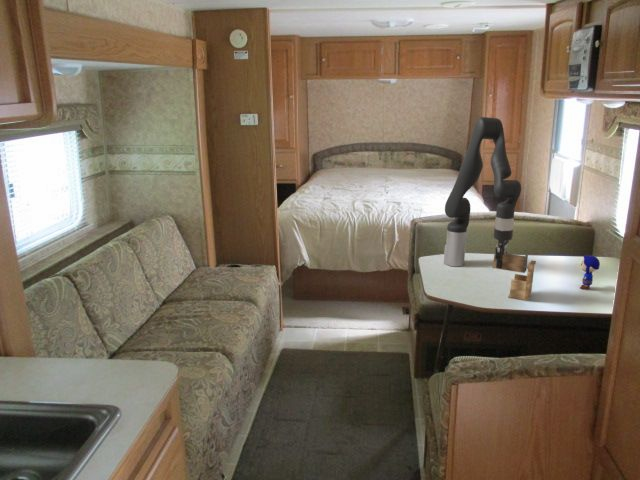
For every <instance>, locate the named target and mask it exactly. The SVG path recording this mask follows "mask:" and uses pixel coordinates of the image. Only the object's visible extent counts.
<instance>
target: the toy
mask: <svg viewBox="0 0 640 480" xmlns="http://www.w3.org/2000/svg"><path fill="white" fill-rule="evenodd" d="M600 266H601V263H600V260H599V258H598V257H597V256H596V255H587V254H585V255H583V260H582V262H581V264H580V269H581V270H582V271H583V272H585V273H584V274H583V277H582V280H581V281H582V284H581V285H580V286H579V289H581V290H585V291H589V289H590V288H591V285H592V284H593V272H596V271H597V270H599V269H600Z"/></svg>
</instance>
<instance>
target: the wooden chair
mask: <svg viewBox="0 0 640 480" xmlns="http://www.w3.org/2000/svg"><path fill="white" fill-rule="evenodd" d="M536 264H537V263H536V260H534V259H533V260H530V261H529V263H528V264H527V269H526V270H527V271H526V272H527V273H526V275H524V274H519V273H515V274H514V278H513V279H512V278H511V280H510V288H509V294H508V295H507V298H508V299H514V300H518V301H519V300H520V301H524V302H528V301H529V299H530V297H531V295H532V292H533V291H532V290H533V281H534V274H535V273H534V272H535V265H536Z"/></svg>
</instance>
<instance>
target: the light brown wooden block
mask: <svg viewBox="0 0 640 480" xmlns="http://www.w3.org/2000/svg"><path fill="white" fill-rule="evenodd" d="M498 257H500V256H499V255H498ZM528 260H529V254H525V255H519V254H512V253H507V254H506V253H505V254H504V255H503V261H502V268H501V269H500V268H496V264H497V259H495V253H494V255H493V265H492V267H493V269H498V270H503V271H509V272H516V273H523V274H525V273H526V272H527V270H528V269H527V266H528Z"/></svg>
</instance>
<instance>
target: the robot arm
mask: <svg viewBox="0 0 640 480" xmlns="http://www.w3.org/2000/svg"><path fill="white" fill-rule="evenodd" d="M473 125H474V126H473V128H472V131H471V137H470V140H469V142H468V143H469V144H468V148H467V151H466V153H465V156H464V159H463V161H462V163H461V166H460V168H459V172H458V175H457V177H456V180H455V183H454V184H453V187H452V190H451V192H450V194H449V196H448V198H447V200H446V202H445V206H444V212H445V215H446V217H448V218H452V219H453V218H454V219H453V220H452V221H451V222H449V223H448V224H447V225H446V226H447V227H446V241H445V242H446V244H445V245H444V252H443V255H444V256H443V264H444V265H446V266H450V267H454V268H455V267H463V266H464V265H465V259H466V258H465V255H466V244H467V243H466V242H467V230H468V227H469V224H470V223H469V222H470V216H471V202H470V200H469V199H468V198H466V197H465V195H466V194H467V192H469V190H470V189H471V188H472V187H474V185H475V184H476V183H477V182H478V180H479V178H480V175H481V173H482V170H483V167H484V162H483V158H482V156H481V150H480V147H481V144H482V141H483V140H492V141H493V144H494V149H493V152H492V154H491V156H490V166H491V170H492V172H493V193H494V195H495V196H496V197H498V198H507V199H506V200H504V201H502V202H499V203H498V204H497V206H496V211H495V219H494V220H495V221H494V227H493V238H494V239H495V240H497V241H498V242H497V243H496V245H495V249H494V250H495V253H494V254H495V259H497V264H496V268H500V269H499V270H502V269H501V268H502V261H503V255H504V254H505V253H506V254H508V247H509V242H510V241H511V240H512V239H513V236H514V235H513V234H514V228H515V227H514V225H515V221H514V220H515V219H514V218H515V209H516V205H517V203H518V201H519V198H520V195H521V193H522V185H521V182H520V181H519V180H517V179H508V178H509V177H511V175H512V169H511V165H510V162H509V158H508V155H507V151H506V149H507V148H506V141H505V132H504V131H505V130H504V126H503V123H502V120H501V119H500V118H496V117H487V116H480V117H479V118H478V117H477V120H476V121H475V123H474V124H473ZM498 255H499V256H500V257H498ZM496 268H495V269H496Z"/></svg>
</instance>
